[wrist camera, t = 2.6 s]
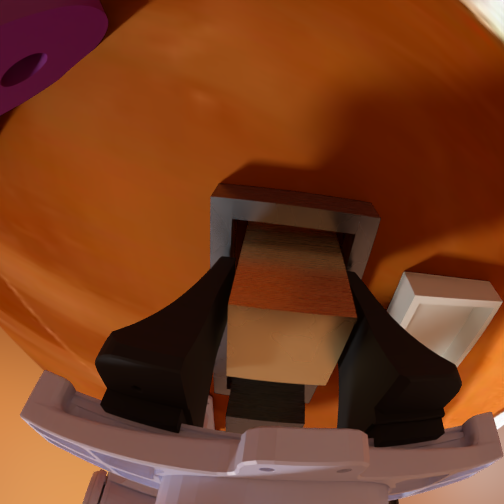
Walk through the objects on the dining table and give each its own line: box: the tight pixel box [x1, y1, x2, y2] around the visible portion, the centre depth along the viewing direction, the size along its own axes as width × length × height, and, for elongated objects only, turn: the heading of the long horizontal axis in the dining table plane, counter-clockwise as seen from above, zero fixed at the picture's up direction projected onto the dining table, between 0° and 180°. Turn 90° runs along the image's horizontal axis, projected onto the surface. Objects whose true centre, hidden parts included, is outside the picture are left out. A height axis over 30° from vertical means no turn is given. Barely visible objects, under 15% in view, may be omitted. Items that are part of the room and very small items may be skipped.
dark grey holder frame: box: [210, 183, 381, 403], centre depth 16 cm, size 15×7×2 cm, turn 176°
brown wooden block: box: [226, 221, 357, 385], centre depth 12 cm, size 4×4×6 cm
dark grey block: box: [226, 377, 305, 434], centre depth 17 cm, size 4×4×6 cm
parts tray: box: [387, 271, 503, 367], centre depth 16 cm, size 9×7×2 cm
